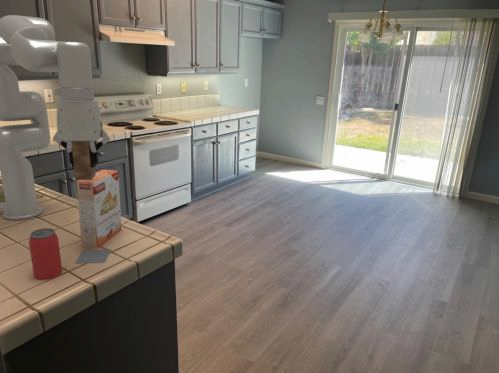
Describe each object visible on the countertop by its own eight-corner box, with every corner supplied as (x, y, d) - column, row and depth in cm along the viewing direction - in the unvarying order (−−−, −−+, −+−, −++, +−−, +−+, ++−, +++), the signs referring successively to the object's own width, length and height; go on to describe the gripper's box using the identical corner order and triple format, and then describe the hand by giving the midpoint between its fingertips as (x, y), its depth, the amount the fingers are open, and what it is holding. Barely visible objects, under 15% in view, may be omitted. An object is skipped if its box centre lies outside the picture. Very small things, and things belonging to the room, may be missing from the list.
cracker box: (99, 249, 113) (93, 182, 107) (81, 247, 114) (74, 180, 108) (123, 231, 126) (119, 170, 120) (107, 228, 127) (101, 168, 121)
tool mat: (74, 265, 104) (74, 263, 104) (83, 251, 112) (82, 249, 112) (105, 264, 105) (104, 262, 105) (111, 251, 113) (111, 249, 113)
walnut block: (75, 179, 99) (70, 134, 95) (80, 175, 103) (75, 131, 99) (91, 179, 100) (87, 134, 96) (95, 175, 103) (91, 131, 100)
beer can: (40, 268, 102) (34, 227, 99) (66, 268, 103) (61, 227, 99) (29, 281, 96) (22, 238, 92) (56, 281, 97) (50, 238, 93)
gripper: (35, 95, 90) (45, 170, 96) (109, 97, 92) (114, 170, 98) (47, 92, 97) (56, 162, 103) (115, 94, 99) (120, 162, 105)
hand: (84, 165), depth 100 cm, fingers closed on walnut block, 4 cm apart
